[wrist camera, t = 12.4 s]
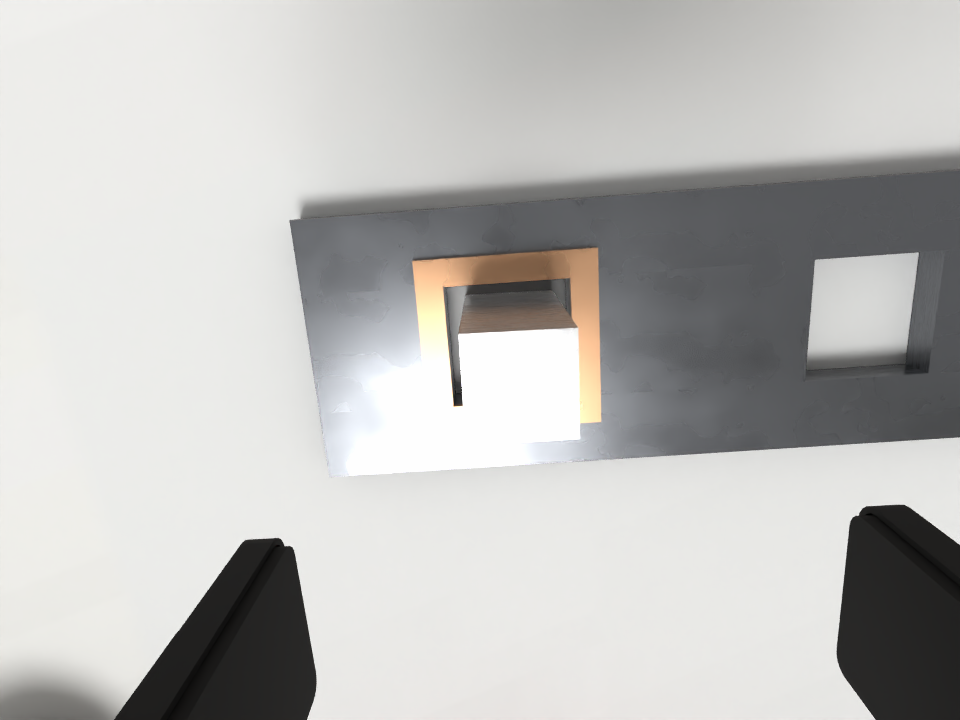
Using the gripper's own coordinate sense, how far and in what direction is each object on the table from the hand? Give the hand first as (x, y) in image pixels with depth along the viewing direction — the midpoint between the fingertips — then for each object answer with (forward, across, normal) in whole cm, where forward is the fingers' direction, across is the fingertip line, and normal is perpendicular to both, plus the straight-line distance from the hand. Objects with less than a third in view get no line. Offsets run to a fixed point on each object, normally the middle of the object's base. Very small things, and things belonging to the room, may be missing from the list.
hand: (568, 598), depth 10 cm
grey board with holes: (+19, -8, 0) cm, 20 cm away
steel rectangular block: (+19, 0, 0) cm, 19 cm away
